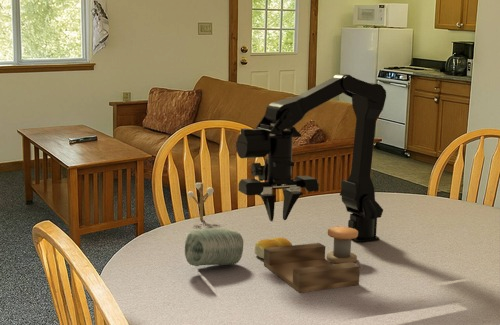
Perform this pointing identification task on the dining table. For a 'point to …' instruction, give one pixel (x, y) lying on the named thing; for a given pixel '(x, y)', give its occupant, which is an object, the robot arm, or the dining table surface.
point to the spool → (213, 247)
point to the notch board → (309, 268)
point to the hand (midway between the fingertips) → (277, 220)
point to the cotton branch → (201, 196)
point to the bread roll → (270, 245)
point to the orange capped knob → (342, 245)
